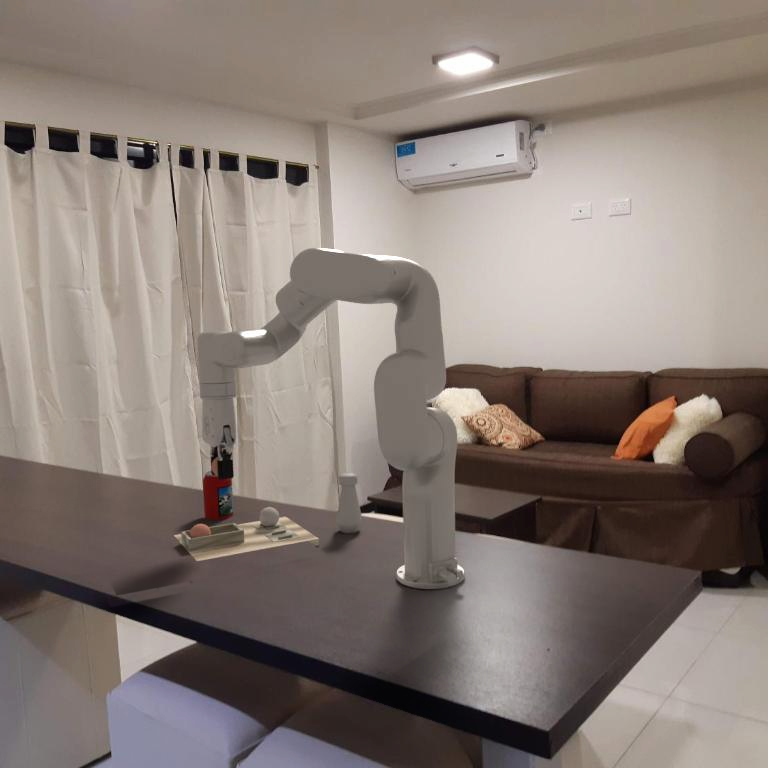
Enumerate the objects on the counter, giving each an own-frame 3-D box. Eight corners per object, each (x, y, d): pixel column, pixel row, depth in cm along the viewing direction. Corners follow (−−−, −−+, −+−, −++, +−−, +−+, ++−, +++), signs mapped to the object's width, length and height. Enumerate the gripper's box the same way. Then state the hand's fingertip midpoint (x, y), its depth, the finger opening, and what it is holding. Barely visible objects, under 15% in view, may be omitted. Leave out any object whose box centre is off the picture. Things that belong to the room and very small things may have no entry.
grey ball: (282, 527, 172) (281, 508, 171) (263, 530, 170) (262, 511, 169) (275, 522, 176) (274, 503, 175) (257, 525, 174) (256, 506, 173)
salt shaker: (351, 536, 169) (349, 478, 168) (331, 532, 173) (329, 475, 171) (367, 529, 174) (365, 472, 173) (348, 525, 177) (346, 470, 176)
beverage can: (230, 525, 180) (227, 475, 179) (201, 526, 181) (199, 475, 179) (236, 517, 187) (234, 468, 186) (209, 517, 187) (206, 469, 186)
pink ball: (214, 545, 161) (212, 525, 160) (193, 549, 159) (191, 528, 158) (208, 540, 165) (207, 520, 164) (187, 543, 163) (186, 523, 162)
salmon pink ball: (215, 479, 160) (214, 459, 159) (209, 475, 164) (208, 455, 163) (235, 477, 162) (234, 456, 161) (229, 473, 166) (228, 453, 165)
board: (319, 545, 163) (318, 527, 163) (197, 568, 151) (196, 548, 151) (285, 522, 181) (285, 506, 181) (174, 541, 169) (173, 524, 169)
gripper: (190, 388, 166) (194, 471, 168) (211, 396, 151) (215, 487, 154) (224, 385, 170) (228, 467, 172) (248, 393, 155) (252, 482, 157)
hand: (222, 475), depth 163 cm, fingers closed on salmon pink ball, 4 cm apart
